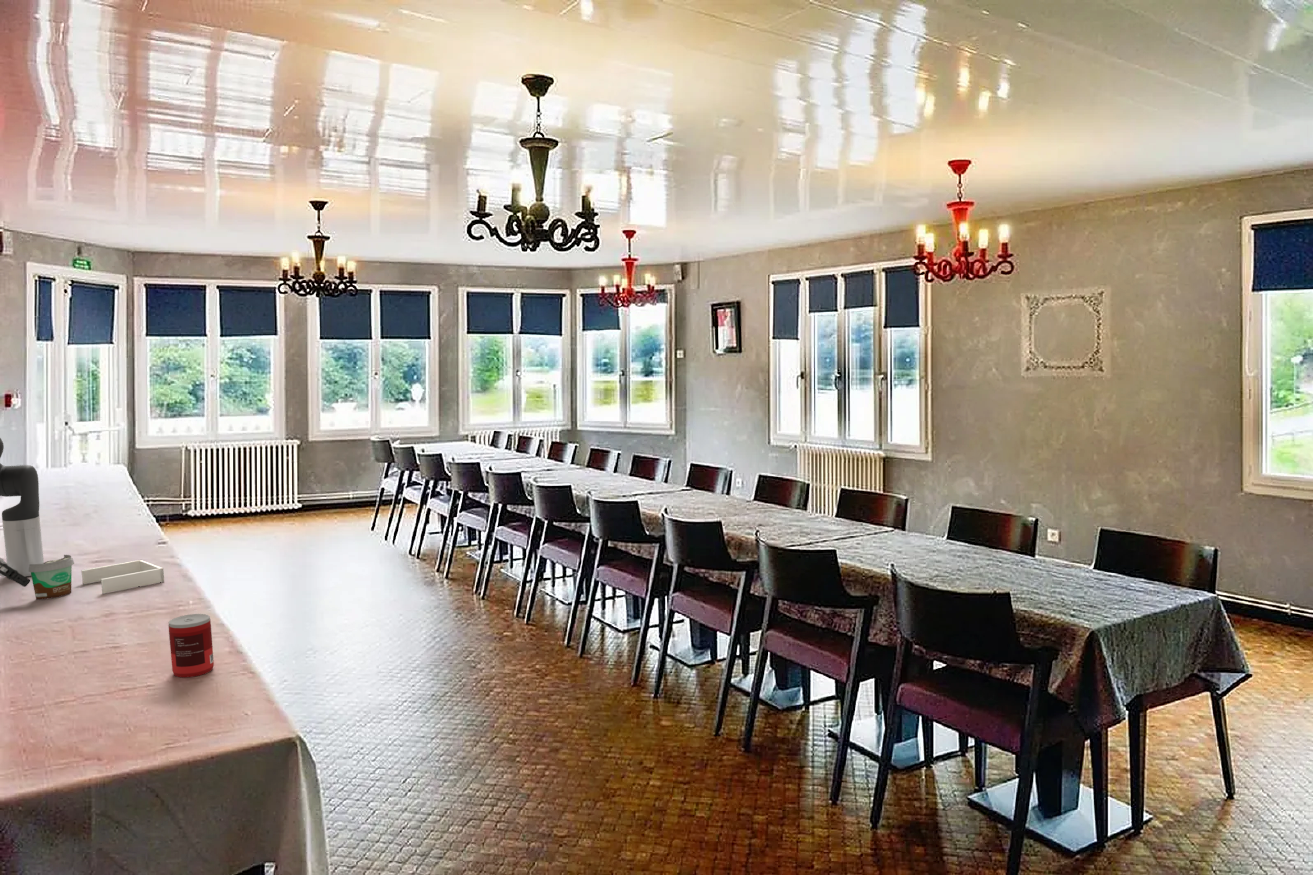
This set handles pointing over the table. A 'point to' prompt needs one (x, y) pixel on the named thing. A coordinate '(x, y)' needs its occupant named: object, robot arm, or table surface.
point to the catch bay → (124, 575)
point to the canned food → (191, 645)
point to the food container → (52, 578)
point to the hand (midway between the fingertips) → (27, 583)
